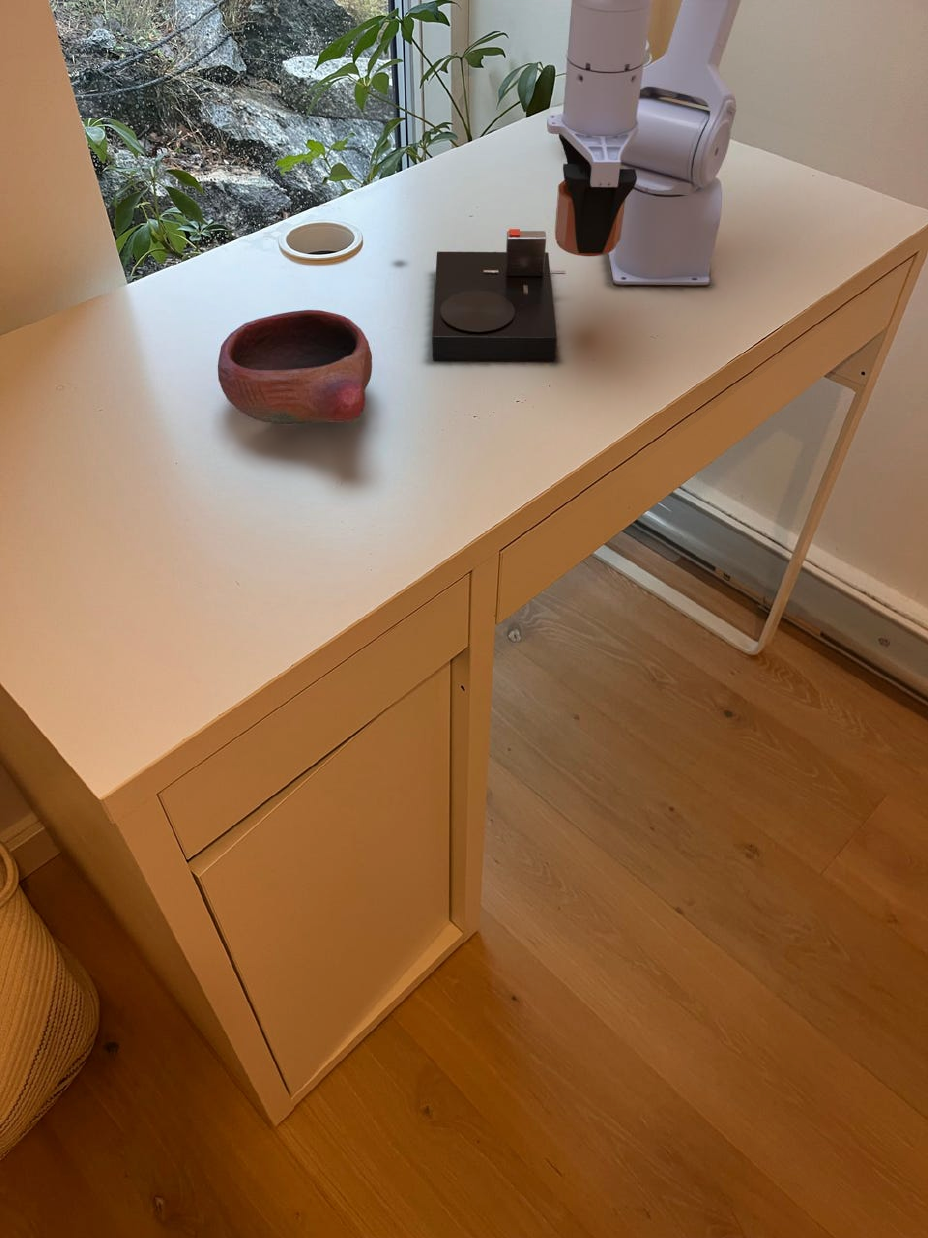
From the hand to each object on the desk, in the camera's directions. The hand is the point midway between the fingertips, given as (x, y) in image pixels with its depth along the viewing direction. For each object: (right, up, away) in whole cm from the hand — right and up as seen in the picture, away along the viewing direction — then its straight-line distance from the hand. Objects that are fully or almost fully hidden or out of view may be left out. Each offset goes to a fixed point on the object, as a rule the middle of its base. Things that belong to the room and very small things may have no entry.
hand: (587, 232), depth 83 cm
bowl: (-23, -16, 0) cm, 28 cm away
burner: (-9, -5, +6) cm, 12 cm away
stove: (-8, -4, +10) cm, 13 cm away
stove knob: (-5, 0, +10) cm, 11 cm away
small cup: (0, 0, 0) cm, 1 cm away
